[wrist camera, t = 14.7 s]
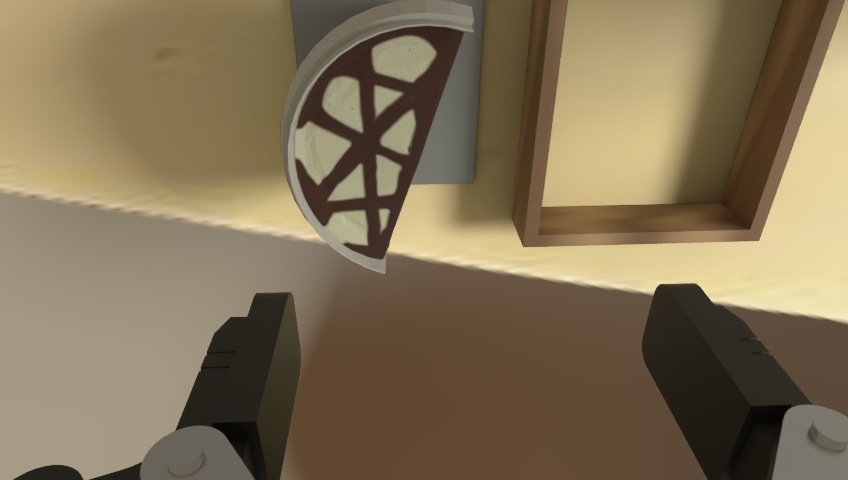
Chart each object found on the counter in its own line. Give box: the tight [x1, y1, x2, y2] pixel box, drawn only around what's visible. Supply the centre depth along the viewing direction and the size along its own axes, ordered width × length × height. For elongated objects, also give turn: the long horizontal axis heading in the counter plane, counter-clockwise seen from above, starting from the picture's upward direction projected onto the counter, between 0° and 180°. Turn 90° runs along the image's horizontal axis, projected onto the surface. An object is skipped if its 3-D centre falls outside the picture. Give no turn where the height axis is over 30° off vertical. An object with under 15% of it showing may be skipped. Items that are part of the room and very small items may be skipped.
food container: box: [280, 0, 474, 274], centre depth 27 cm, size 12×6×10 cm, turn 161°
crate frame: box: [512, 0, 845, 247], centre depth 32 cm, size 15×17×4 cm
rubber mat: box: [290, 0, 484, 185], centre depth 32 cm, size 10×13×1 cm
